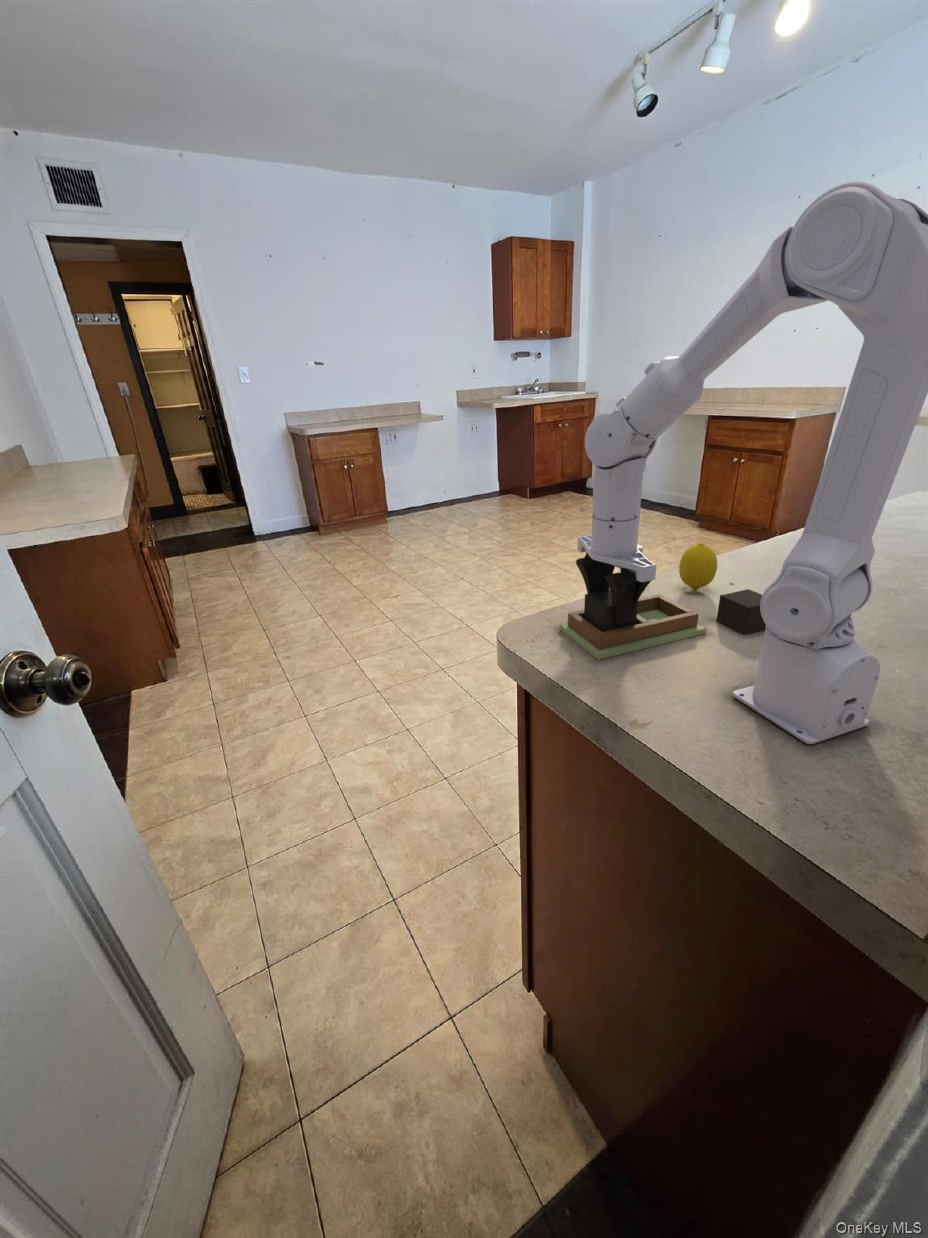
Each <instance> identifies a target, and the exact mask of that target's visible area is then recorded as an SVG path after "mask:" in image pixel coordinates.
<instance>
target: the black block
mask: <svg viewBox="0 0 928 1238" xmlns="http://www.w3.org/2000/svg"><path fill="white" fill-rule="evenodd" d="M762 595H763V593H762V594H761V593H759V592H757V591H754V590H752V589H749V588H747V589H743V590H738V591H733V592H729V593H724V594H721V595H719V600H718V606H717V614H716V619H715V621H716V622H718V623H720V624H722V625H724V626H725V627H727V628H730V629H731V630H733V631H735V632H737V633H740V634H742V635H744V636H745V635H749V634H753V633H757V632H760V631H765V629H766V624H765V622H764V620H763V618H762V615H761V612H760V601H761V598H762Z"/></svg>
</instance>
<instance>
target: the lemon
mask: <svg viewBox="0 0 928 1238" xmlns="http://www.w3.org/2000/svg"><path fill="white" fill-rule="evenodd" d="M717 570H718V557H717V554H716V552H715V551H714V550H713V549H712V548H711V547H710V546H709V545H708V546H707V545H706V544H704V542H698V543H697V544H693V545H692V546H690V547H688V548H687V549H686V550H685V551H684V552H683V554H682V556H681V558H680V561H679V567H678V573H679V577H680V579H681V581H682V582H683V583H684V585H686V586H687V587H690V588H691V589H692V590H693V591H698V590H699V589H701V588H704V587H706V586H708V585H710V584H711V583H712V581H713V580H714V579H715V577H716V574H717Z"/></svg>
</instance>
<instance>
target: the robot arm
mask: <svg viewBox="0 0 928 1238" xmlns="http://www.w3.org/2000/svg"><path fill="white" fill-rule="evenodd" d="M828 301H829V302H831V303H833V304H835V305H836V306H838V309H839V310H840V311H841V312H842V313H843V314H844V316H846V318H847V319H848V320H849V321H850V322H851V323H852V324H853V326H854V327H856V329H857V330H858V331H859V333H861V335H862V336H863V342H862V345H861V348H860V352H859V354H858V356H857V357H858V358H857V361H856V364H855V367H854V370H853V373H852V377H851V380H850V383H849V385H848V386H849V387H848V389H847V392H846V395H845V398H844V402H843V405H842V408H841V410H840V411H841V412H840V415H839V418H838V421H837V424H836V427H835V431H834V433H833V437H832V440H831V443H830V446H829V449H828V453H827V455H826V459H825V462H824V465H823V468H822V471H821V474H820V477H819V481H818V483H817V487H816V490H815V494H814V496H813V499H812V503H811V506H810V508H809V512H808V514H807V518H806V522H805V525H804V528H803V531H802V534H801V535H800V537H799V538H798V540H797V542H796V543H795V544H794V546H793V548H792V549H791V550H790V551H789V552H788V555H787V556H786V558H785V559H784V561H783V564H782V566H781V567H782V568H781V570H780V573H779V574H778V577H777V578H776V579H775V580H774V581H773V582H772V583H771V584H769V586H767V588H766V589H765V590H764V592H763V593H762V598H761V601H760V612H761V615H762V618H763V620H764V622H765V624H766V629H765V630H764V635H763V639H762V644H761V650H760V654H759V658H758V659H759V660H758V664H757V669H756V674H755V679H754V684H753V685H750V686H746V687H743V688H739V689H736V690H734V691H732V697H734V698H735V699H737V701H740V702H741V703H743V704H744V705H746V706H747V707H749V708H751V709H752V710H753V711H755V712H757V713H758V714H760V715H761V716H763V717H765V718H766V719H768V720H769V721H770V722H773V723H774V724H776V725H777V726H779V727H780V728H781V729H783V730H785V731H786V732H788V733H789V734H791V735H792V736H794V737H796V738H797V739H799V740H800V741H802V742H803V743H804V744H807V745H814V744H817V743H820V742H823V741H826V740H829V739H831V738H835V737H837V736H840V735H843V734H847V733H850V732H852V731H855V730H858V729H862V728H864V727H867V726H869V724H870V720H869V719H868V718H867V715H868V712H869V708H870V706H871V702H872V699H873V696H874V694H875V693H874V692H875V690H876V687H877V684H878V681H879V677H880V672H881V666H880V662H879V660H878V659H877V658H876V657H875V656H873V655H871V654H869V652H867V651H865V650H864V649H863V648H862V647H861V646H860V645H859V644H858V643H857V642H856V640H855V634H856V631H855V626H854V623H853V622H854V621H853V619H852V614H853V613H855V612H857V611H859V610H861V609H862V608H863V607H864V606H865V605H866V604H867V603H868V602H869V600H870V598H871V595H872V593H873V579H872V575H871V564H872V561H873V557H874V556H875V552H876V551H875V546H874V543H873V536H874V534H875V531H876V528H877V525H878V523H879V520H880V518H881V515H882V513H883V510H884V507H885V505H886V503H887V500H888V497H889V494H890V492H891V490H892V487H893V484H894V482H895V480H896V476H897V473H898V471H899V468H900V465H901V464H902V461H903V459H904V456H905V453H906V451H907V449H908V445H909V443H910V441H911V438H912V435H913V433H914V430H915V427H916V425H917V422H918V420H919V417H920V414H921V412H922V409H923V406H924V404H925V402H926V399H927V397H928V213H927V212H925V210H923V209H922V208H921V207H919V206H918V204H916V203H914V202H912V201H911V200H907V199H905V198H896V197H894V196H892V195H890V194H887V193H885V192H884V191H882V189H880V188H878V187H877V186H875V185H874V184H871V183H868V182H865V181H849V182H845V183H841V184H839V185H836V186H834V187H832V188H830V189H828V190H827V191H825V192H823V193H822V194H821V195H819V196H818V197H817V198H815V199H814V200H813V201H812V202H811V203H810V204H809V205H808V206H807V207H806V208H805V209H804V210H803V212H802V213H801V214H800V216H799V217H798V219H797V220H796V222H795V223H794V225H793V226H789V227H788V228H787V229H785V230H784V231H783V232H782V233H780V234H779V235H778V236H777V237H776V238H775V239H773V242H772V243H771V245H770V246H769V248H768V249H767V251H766V253H765V254H764V256H763V257H762V259H761V261H760V262H759V264H758V265H757V267H756V268H755V270H754V271H753V272H752V273H751V274H750V275H749V276H748V277H747V279H746V280H745V281H744V282H743V283H742V285H741V286H740V287H739V288H738V289H737V291H735V292H734V294H733V295H732V296H731V297H730V298H729V300H727V302H726V303H725V304H724V305H723V306H722V307H721V309H720V310H719V311H718V312H717V313H716V314H715V315H714V316H713V317H712V319H711V320H710V321H709V322H708V323H707V325H706V326H705V327H704V329H702V330H701V332H700V333H698V335H697V336H696V337H695V339H694V340H693V341H692V342H691V343H690V344H689V345H688V347H687V348H686V349H685V350H684V351H683V352H682V354H680V356H666V357H663V358H661V359H660V361H652V362H650V363H649V364H648V365H647V367H646V368H645V369H644V370H643V371H644V373H645V376H644V377H643V379H642V380H641V381H640V382H639V383H638V384H637V385H636V386H635V387H633V389H632V390H631V391H630V393H628V394H627V396H626V397H621V398H619V400H617V402H616V403H615V409H614V410H613V411H612V412H606V413H605V412H604V413H601V414H598V415H596V416H595V417H594V418H593V419H592V421H591V423H589V426H588V427H587V430H586V432H585V435H584V436H585V437H584V449H585V452H586V455H587V458H588V459H589V460H590V462H592V464H593V483H592V484H593V486H592V487H593V489H592V508H591V509H592V511H591V534H590V535H586V536H585V535H584V536H580V537H579V536H578V537H577V548H576V549H577V550H576V551H578V552H580V553H585V555H584V557H580V558H577V559H576V560H575V565H576V566H577V569H578V570H579V572H580V574H581V577H582V579H583V582H584V585H585V589H586V592H587V593H586V594H590V593H595V592H599V591H604V590H609V589H610V591H611V596H612V614H613V621H614V623H615V624H616V625H620V624H625V623H629V622H630V620H631V617H632V615H633V612H634V609H635V607H636V604H637V602H638V600H639V598H641V596H642V594H643V593H644V591H645V590H646V588H647V587H648V586H649V584H650V583H651V582H652V581H654V580H656V574H657V564H656V563H654V562H652V561H651V560H650V559H648V558H647V556H646V555H645V554H643V552H644V546H643V545H641V544H638V543H639V542H638V541H639V530H640V516H641V504H642V493H643V492H642V490H643V481H644V480H643V478H644V472H646V467H647V466H646V465H647V460H648V458H649V457H650V456H651V454H652V453H653V451H654V450H655V448H656V445H657V441H658V438H659V437H660V436H662V435H663V434H664V433H665V432H667V430H668V429H669V428H671V426H673V425H674V424H675V423H676V422H677V421H678V420H679V419H680V418H681V417H682V416H684V414H685V413H687V412H688V411H689V410H691V408H692V407H693V406H694V405H695V404H697V403H698V402H699V401H700V400H701V398H702V396H703V391H704V386H705V385H704V384H705V380H706V379H707V378H708V377H709V376H710V375H711V374H713V372H714V371H716V370H717V369H718V368H719V367H720V366H722V365H723V364H724V363H725V362H726V361H727V360H729V359H730V358H731V357H732V356H733V355H734V354H736V352H738V351H739V350H740V349H741V348H742V347H744V346H745V345H746V344H747V343H748V342H749V341H750V340H752V339H753V338H754V337H755V336H756V335H757V334H759V333H760V332H761V331H762V330H763V329H765V328H766V327H767V326H768V325H770V323H771V322H773V321H774V320H775V319H776V318H778V317H779V316H780V315H782V314H785V313H789V312H793V311H796V310H799V309H803V308H807V307H810V306H815V305H818V304H822V303H825V302H828ZM616 568H618V569H619V572H614V571H615V569H616Z"/></svg>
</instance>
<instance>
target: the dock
mask: <svg viewBox="0 0 928 1238" xmlns="http://www.w3.org/2000/svg"><path fill="white" fill-rule="evenodd" d="M699 614H700V613H698V612H696V611H694V610H692V609H691V608H688V607H686V606H684V605H683V604H680V603H679V602H677V601H675V600H672V599H671V598H669V597H667V596H664V595H662V594H661V593H657V594H656V593H655V594H652V595H646V596H643V597H640V598H639V600H638V606H637V618H636V625H632V626H627V627H623V628H618V629H614V630H610V631H605V632H602V631H600V630H599V629H598V628H596V627H595V626H593V625H592V624H591V623H589V622H588V621H586V620H585V619H584V609H582V610H576V611H572V612H568V613H567V622H565V623H560V624H559V631H561V632H562V633H564V634H565V635H566V636H567V637H569V639H571V640H572V641H573V642H575V643H576V644H577V645H578V646H580V648H582V649H583V650H585V651H586V652H587V653H589V655H591V656H592V657H593V658H594V659H596V660H597V661H599V660H603V659H607V658H612V657H615V656H616V657H617V656H619V655H624V654H628V653H632V652H637V651H640V650H644V649H648V648H653V647H657V646H661V645H664V644H668V643H673V642H677V641H681V640H685V639H689V638H693V637H697V636H698V637H699V636H701V635H705V634H707V628H706V626H704V625H701V624H699V623H698V622H699Z"/></svg>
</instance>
